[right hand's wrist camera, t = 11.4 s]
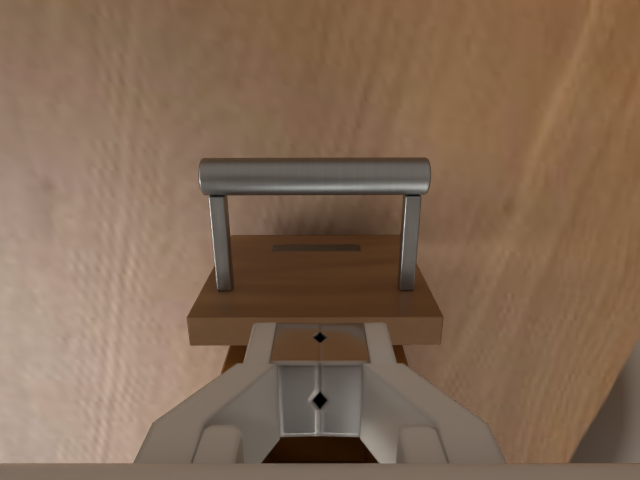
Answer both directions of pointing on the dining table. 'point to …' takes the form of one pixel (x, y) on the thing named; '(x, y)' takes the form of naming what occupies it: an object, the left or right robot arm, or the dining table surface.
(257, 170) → the drawer
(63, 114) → the dining table surface
